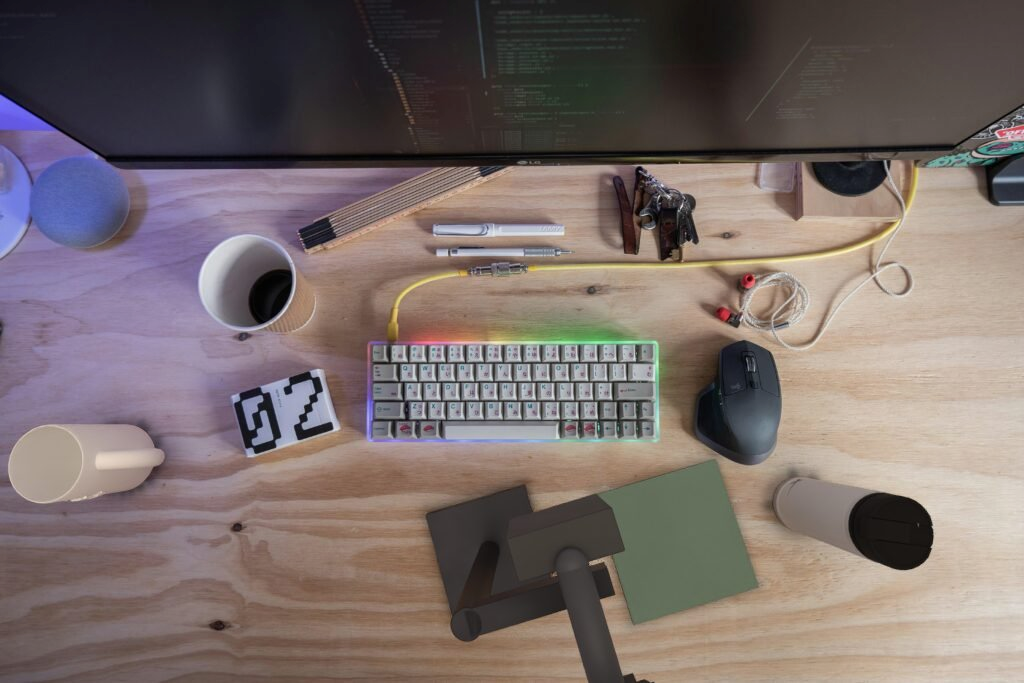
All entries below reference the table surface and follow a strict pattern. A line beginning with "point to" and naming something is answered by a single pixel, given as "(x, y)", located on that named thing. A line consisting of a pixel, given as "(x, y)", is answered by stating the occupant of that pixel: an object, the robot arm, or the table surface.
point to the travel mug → (857, 520)
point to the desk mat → (678, 542)
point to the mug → (81, 461)
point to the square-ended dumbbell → (573, 570)
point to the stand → (492, 567)
